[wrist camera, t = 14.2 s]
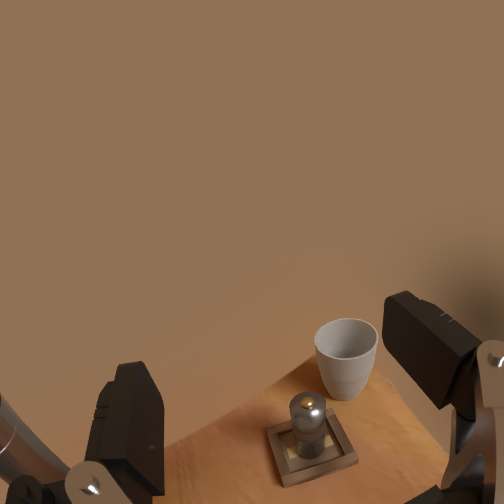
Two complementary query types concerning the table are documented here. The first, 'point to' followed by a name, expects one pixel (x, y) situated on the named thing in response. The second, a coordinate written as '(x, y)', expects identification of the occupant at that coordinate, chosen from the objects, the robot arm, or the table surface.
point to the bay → (305, 470)
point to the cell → (308, 424)
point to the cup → (345, 356)
